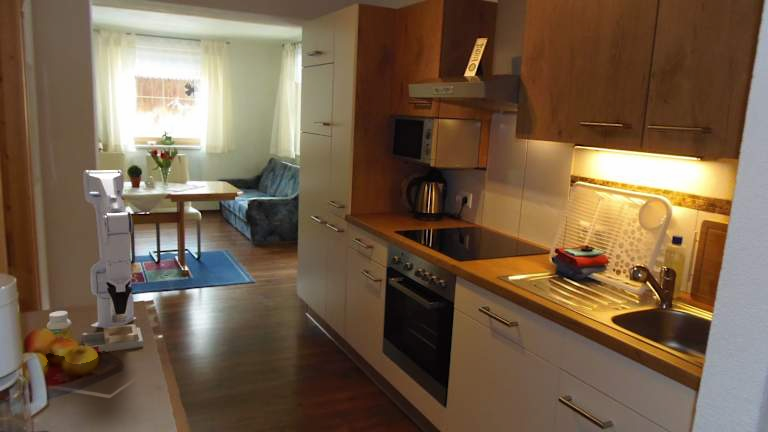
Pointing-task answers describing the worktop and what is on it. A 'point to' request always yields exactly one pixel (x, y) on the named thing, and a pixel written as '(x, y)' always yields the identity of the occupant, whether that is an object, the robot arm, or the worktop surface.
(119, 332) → the crate
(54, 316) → the supplement bottle
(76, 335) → the worktop surface
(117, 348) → the bay
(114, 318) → the handle peg
